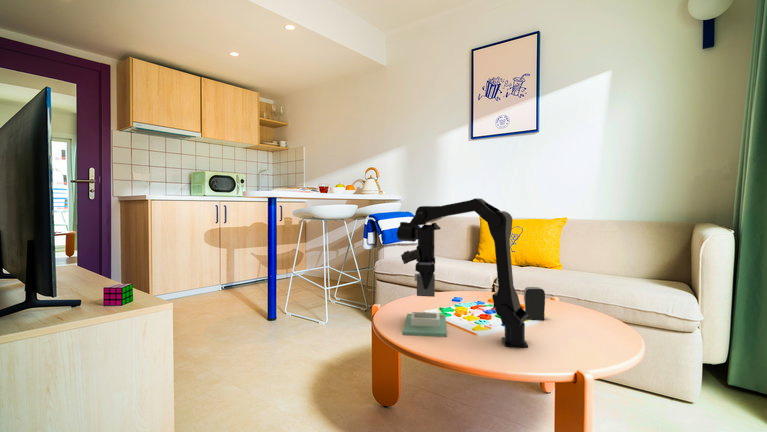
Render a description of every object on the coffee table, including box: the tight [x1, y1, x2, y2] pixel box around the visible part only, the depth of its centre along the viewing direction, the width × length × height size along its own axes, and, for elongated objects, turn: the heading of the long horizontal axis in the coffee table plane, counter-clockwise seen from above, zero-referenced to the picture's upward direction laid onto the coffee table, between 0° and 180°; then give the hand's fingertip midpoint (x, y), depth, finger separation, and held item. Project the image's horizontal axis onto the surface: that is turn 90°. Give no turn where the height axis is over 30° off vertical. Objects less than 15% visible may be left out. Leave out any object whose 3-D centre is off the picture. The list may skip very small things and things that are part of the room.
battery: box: [523, 286, 546, 321], centre depth 135 cm, size 7×4×11 cm, turn 81°
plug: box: [414, 272, 436, 298], centre depth 128 cm, size 4×7×7 cm, turn 82°
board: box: [402, 311, 448, 338], centre depth 128 cm, size 20×14×4 cm
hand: (425, 287), depth 127 cm, fingers closed on plug, 4 cm apart
